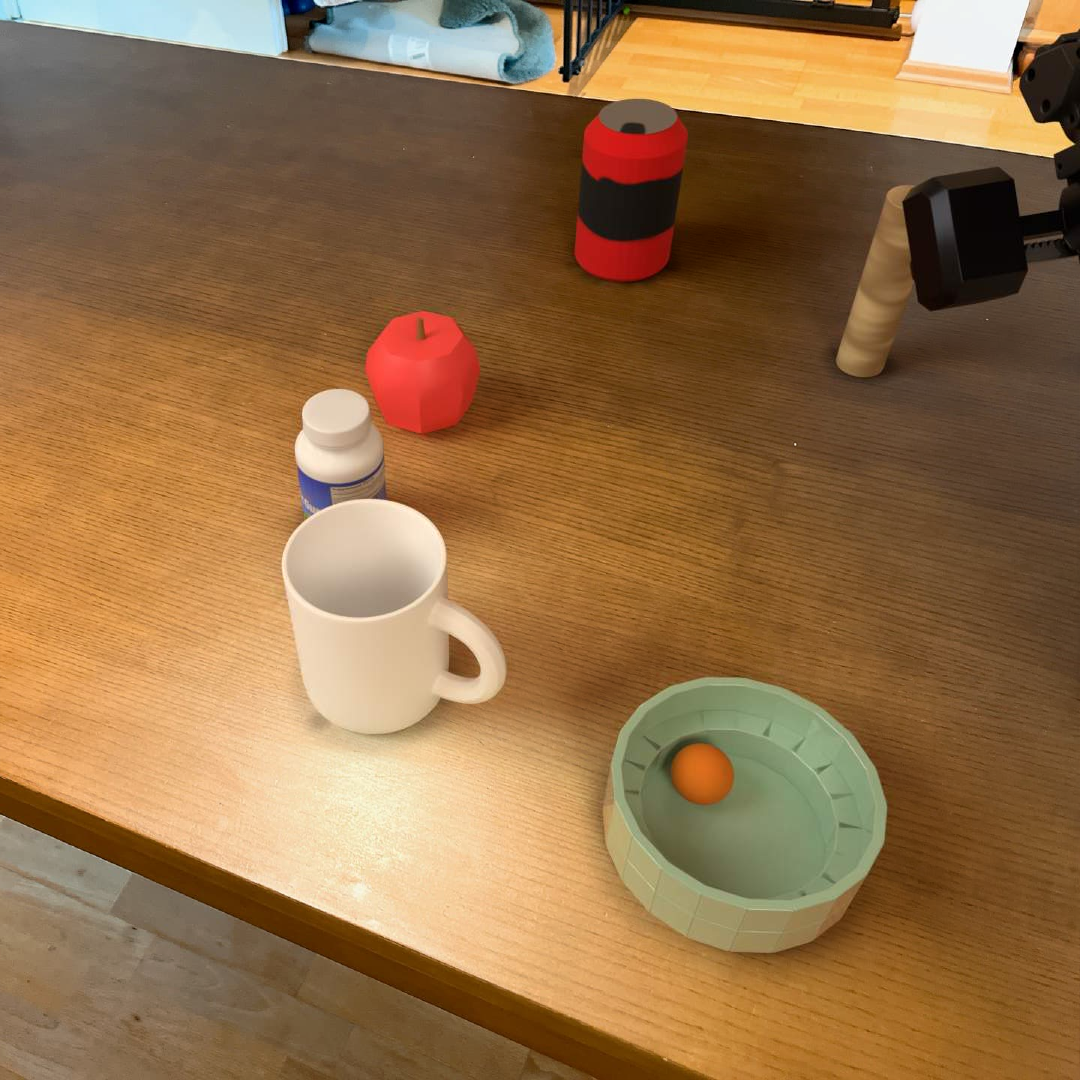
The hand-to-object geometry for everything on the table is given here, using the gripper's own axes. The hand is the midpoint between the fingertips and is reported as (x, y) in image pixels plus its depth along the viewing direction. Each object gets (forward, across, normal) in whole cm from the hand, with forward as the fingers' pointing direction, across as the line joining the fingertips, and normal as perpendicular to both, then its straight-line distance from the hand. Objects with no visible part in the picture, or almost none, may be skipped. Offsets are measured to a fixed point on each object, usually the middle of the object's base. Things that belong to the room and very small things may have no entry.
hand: (989, 258), depth 61 cm
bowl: (-8, +24, +27) cm, 37 cm away
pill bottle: (+10, +38, +9) cm, 41 cm away
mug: (+1, +37, +18) cm, 42 cm away
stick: (+15, 0, +4) cm, 16 cm away
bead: (-7, +24, +24) cm, 35 cm away
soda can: (+28, +11, -8) cm, 31 cm away
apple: (+17, +31, +2) cm, 36 cm away
